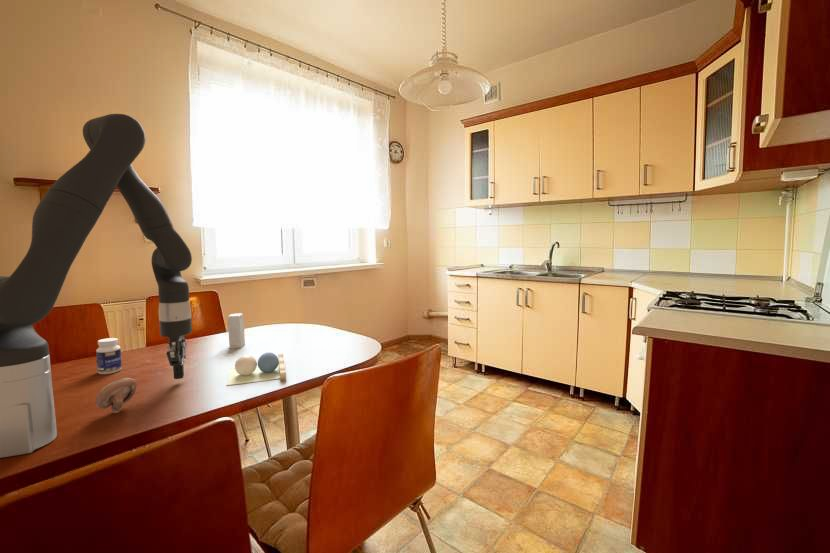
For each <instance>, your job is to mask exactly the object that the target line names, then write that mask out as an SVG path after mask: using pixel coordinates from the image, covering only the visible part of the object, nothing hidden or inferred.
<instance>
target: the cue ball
mask: <svg viewBox="0 0 830 553" xmlns="http://www.w3.org/2000/svg"><path fill="white" fill-rule="evenodd" d="M257 365H258V361H257V359H256V358H255V357H254V356H252V355H250V354H245V355H242V356H240V357H238V358H237V360H236V361H235V364H234V368H235V370H236V372H237V373H238V374H240V375H243V376H247V375H250V374H252V373H253V372H254V371H255V370H256V367H257Z"/></svg>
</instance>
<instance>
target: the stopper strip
mask: <svg viewBox="0 0 830 553" xmlns="http://www.w3.org/2000/svg"><path fill="white" fill-rule="evenodd" d="M277 357H278V360H279V372H280V379H279V380H280V382H284V380H286V381H287V374H286V366H285V358H284V354H283V353H279V354H277Z"/></svg>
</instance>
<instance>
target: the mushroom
mask: <svg viewBox="0 0 830 553" xmlns="http://www.w3.org/2000/svg"><path fill="white" fill-rule="evenodd" d="M137 384H138V383H137V381H136V379H134V378H132V377H124V378H120V379H117V380H115V381H112V382H110V383H108V384H106V385H105V386H103V388H101V389H100V391H98V394H97V397H96V400H95V405H96V406H97V407H98V408H100V409H107V408H109V407H111V408H110V410H111V412H112V413H114V414H117V413H119V412H120V411H121V409H122V408H123V406H124V404H126V403H127V402H129V401H131V399H132V398H133V397H134V396H135V393H136V389H137V386H138V385H137Z"/></svg>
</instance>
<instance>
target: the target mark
mask: <svg viewBox="0 0 830 553" xmlns="http://www.w3.org/2000/svg"><path fill="white" fill-rule="evenodd" d="M274 379H275V380H280V372H279V364H278V366H277V368H276V369H275V370H274V371H272V372H269V373H265V372H262V371H261V370H260V369H259V367H258V364H257V367H256V370H255V371H254V372H253V373H252V374H250V375H247V376H243V375H240V374H238V373H237V372H236V370H235V367H232V368H230V370H229V374H228V378H227V382H226V386H227V387H229V386H235V385H236V386H237V385H243V384H251V382H252V383H259V382H264V381H265V382H266V381H275V380H274Z"/></svg>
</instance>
